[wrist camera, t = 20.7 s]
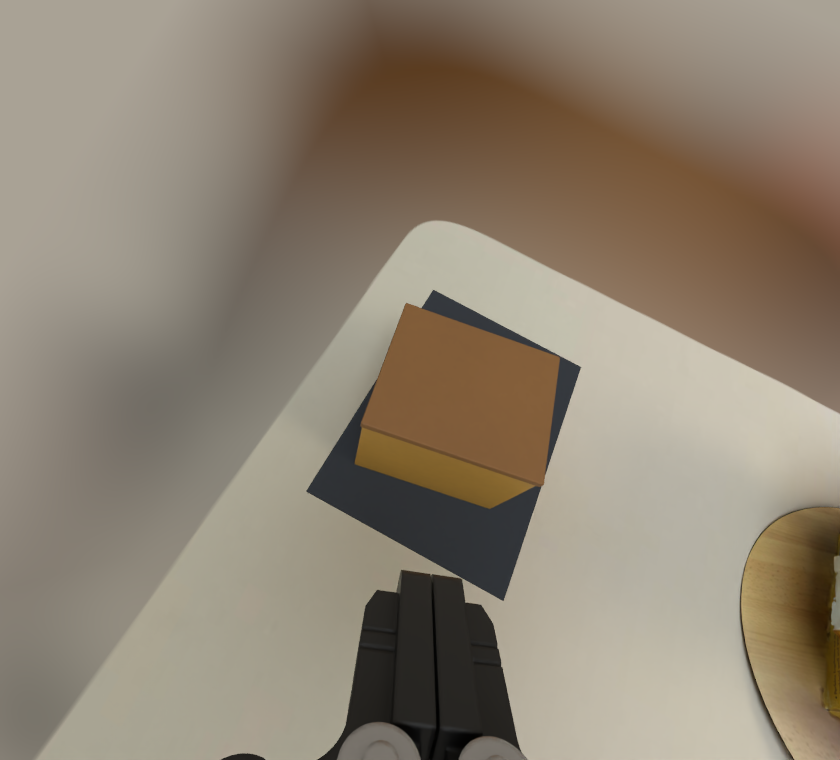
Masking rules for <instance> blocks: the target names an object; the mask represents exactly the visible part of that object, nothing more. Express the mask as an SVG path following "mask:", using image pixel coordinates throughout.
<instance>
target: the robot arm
mask: <svg viewBox="0 0 840 760" xmlns="http://www.w3.org/2000/svg"><path fill="white" fill-rule="evenodd" d="M221 760H265V759H264V758H262V757H260V756H257V755H254V754H236V755H231V756H229V757H226V758H223V759H221ZM318 760H527V758H526V757H525V756H524V755H523V754H522V752H521V750H520V747H519V744H518V741H517V736H516V732H515V727H514V722H513V717H512V712H511V707H510V703H509V698H508V693H507V688H506V683H505V679H504V674H503V669H502V667H501V659H500V654H499V650H498V649H497V640H496V635H495V630H494V625H493V623H492V621H491V620H490V618H489V617H488V615H487V613H486V612H485V610H484V609H483V607H482V606H481V605H478V604H471V603H465V597H464V590H463V583H462V580H461V579H460V578H454V577H447V576H440V575H433V574H432V575H430V574H425V573H419V572H412V571H405V570H401V572H400V577H399V582H398V587H397V592H396V593H394V592H387V591H380V590H377V591H376V592H375V593H374V595H373V596H372V598H371V599H370V600H369V602H368V603H367V605H366V606H365V612H364V618H363V624H362V630H361V636H360V642H359V647H358V653H357V659H356V665H355V672H354V678H353V684H352V690H351V696H350V703H349V709H348V715H347V721H346V726H345V728H344V731H343V733H342V735H341V737H340V738H339V740H338V741H337V743H336V744H335V745H334V747H333V748H332V749H331V750H329V751H328V752H327V753H326V754H325V755H324V756H322V757H321V758H319V759H318Z"/></svg>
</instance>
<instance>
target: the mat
mask: <svg viewBox="0 0 840 760" xmlns="http://www.w3.org/2000/svg"><path fill="white" fill-rule="evenodd" d="M422 309H425V310H428V311H430V312H433V313H436V314H439V315H442V316H445V317H447V318H450V319H453V320H456V321H459V322H462V323H464V324H467V325H470V326H473V327H476V328H479V329H482V330H484V331H487V332H490V333H493V334H496V335H499V336H501V337H504V338H507V339H510V340H513V341H516V342H518V343H521V344H524V345H527V346H530V347H533V348H535V349H538V350H541V351H544V352H547V353H550V354H552V355H555V356H558V357H560V362H559V370H558V378H557V385H556V393H555V401H554V409H553V416H552V424H551V432H550V440H549V448H548V455H547V463H546V471H547V468H548V465H549V462H550V459H551V456H552V453H553V450H554V447H555V444H556V441H557V438H558V435H559V432H560V429H561V426H562V423H563V420H564V417H565V414H566V411H567V408H568V405H569V402H570V398H571V395H572V392H573V389H574V386H575V383H576V380H577V377H578V374H579V371H580V368H581V367H580V366H578V365H576V364H574V363H572V362H570V361H568V360H566V359H564V358H562V357H561V356H559V355H557V354H555V353H553V352H551V351H549V350H547V349H545V348H543V347H541V346H540V345H538V344H536V343H534V342H532V341H530V340H528V339H526V338H524V337H522V336H520V335H519V334H517V333H515V332H513V331H511V330H509V329H507V328H505V327H503V326H501V325H500V324H498V323H496V322H494V321H492V320H490V319H488V318H486V317H484V316H482V315H480V314H479V313H477V312H475V311H473V310H471V309H469V308H467V307H465V306H463V305H461V304H459V303H458V302H456V301H454V300H452V299H450V298H448V297H446V296H444V295H442V294H440V293H438V292H437V291H435V290H433V291H432V293H431V294H430V296H429V298H428V299H427V301H426V302H425V304H424V306H423V307H422ZM376 381H377V380H376ZM375 384H376V382H375V383H374V385H373V386H372V388H371V390H370V391H369V393H368V394H367V396H366V398H365V399H364V401H363V402H362V404H361V405H360V407H359V409H358V410H357V412H356V413H355V415H354V417H353V418H352V420H351V421H350V423H349V425H348V426H347V428H346V429H345V431H344V432H343V434H342V436H341V437H340V439H339V440H338V442H337V444H336V445H335V447H334V448H333V450H332V451H331V453H330V455H329V456H328V458H327V459H326V461H325V463H324V464H323V466H322V467H321V469H320V470H319V472H318V474H317V475H316V477H315V478H314V480H313V482H312V483H311V485H310V486H309V488H308V490H307V492H308V493H310V494H312V495H314V496H316V497H317V498H319V499H321V500H323V501H325V502H326V503H328V504H330V505H332V506H334V507H335V508H337V509H339V510H341V511H343V512H344V513H346V514H348V515H350V516H352V517H353V518H355V519H357V520H359V521H361V522H362V523H364V524H366V525H368V526H370V527H371V528H373V529H375V530H377V531H379V532H380V533H382V534H384V535H386V536H388V537H389V538H391V539H393V540H395V541H397V542H398V543H400V544H402V545H404V546H406V547H407V548H409V549H411V550H413V551H415V552H416V553H418V554H420V555H422V556H424V557H425V558H427V559H429V560H431V561H433V562H434V563H436V564H438V565H440V566H442V567H443V568H445V569H447V570H449V571H451V572H452V573H454V574H456V575H458V576H460V577H461V578H463V579H465V580H467V581H469V582H470V583H472V584H474V585H476V586H478V587H479V588H481V589H483V590H485V591H487V592H488V593H490V594H492V595H494V596H496V597H497V598H499V599H501V600H503V601H504V598H505V595H506V592H507V589H508V586H509V583H510V580H511V577H512V574H513V571H514V567H515V564H516V561H517V558H518V555H519V552H520V549H521V546H522V543H523V540H524V537H525V534H526V531H527V528H528V525H529V522H530V519H531V516H532V513H533V510H534V507H535V504H536V501H537V498H538V495H539V492H540V489H541V486H540V487H538V486H534V487H533V488H531V489H529V490H527V491H525V492H523V493H521V494H519V495H517V496H515V497H513V498H511V499H509V500H507V501H505V502H503V503H501V504H499V505H497V506H495V507H493V508H491V509H488V508H485V507H482V506H479V505H476V504H473V503H470V502H467V501H464V500H461V499H458V498H455V497H452V496H449V495H446V494H443V493H440V492H437V491H434V490H431V489H428V488H425V487H422V486H419V485H416V484H413V483H410V482H407V481H404V480H401V479H398V478H395V477H392V476H389V475H386V474H383V473H380V472H377V471H373V470H370V469H367V468H364V467H361V466H358V465H355V458H356V453H357V449H358V444H359V439H360V435H361V430H362V427H360V425H361V421H362V419H363V416H364V413H365V411H366V408H367V405H368V403H369V400H370V397H371V395H372V392H373V389H374V387H375ZM546 471H545V474H546Z"/></svg>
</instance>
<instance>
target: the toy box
mask: <svg viewBox="0 0 840 760" xmlns="http://www.w3.org/2000/svg"><path fill="white" fill-rule="evenodd" d="M559 362H560V357H558V356H555V355H552V354H550V353H547V352H544V351H541V350H538V349H535V348H533V347H530V346H527V345H524V344H521V343H518V342H516V341H513V340H510V339H507V338H504V337H501V336H499V335H496V334H493V333H490V332H487V331H484V330H482V329H479V328H476V327H473V326H470V325H467V324H464V323H462V322H459V321H456V320H453V319H450V318H447V317H445V316H442V315H439V314H436V313H433V312H430V311H428V310H425V309H422V308H419V307H416V306H413V305H411V304H408V303H406V304H405V307H404V309H403V312H402V315H401V317H400V320H399V323H398V325H397V328H396V331H395V333H394V336H393V339H392V341H391V344H390V347H389V349H388V352H387V355H386V357H385V360H384V363H383V365H382V368H381V371H380V373H379V376H378V379H377V381H376V384H375V387H374V389H373V392H372V395H371V397H370V400H369V403H368V405H367V408H366V411H365V413H364V416H363V419H362V421H361V425H360V427H362V430H361V435H360V439H359V444H358V449H357V453H356V458H355V465H358V466H361V467H364V468H367V469H370V470H373V471H377V472H380V473H383V474H386V475H389V476H392V477H395V478H398V479H401V480H404V481H407V482H410V483H413V484H416V485H419V486H422V487H425V488H428V489H431V490H434V491H437V492H440V493H443V494H446V495H449V496H452V497H455V498H458V499H461V500H464V501H467V502H470V503H473V504H476V505H479V506H482V507H485V508H488V509H491V508H493V507H495V506H497V505H499V504H501V503H503V502H505V501H507V500H509V499H511V498H513V497H515V496H517V495H519V494H521V493H523V492H525V491H527V490H529V489H531V488H533V487H534V486H538V487H540V486H543V485H544V479H545V471H546V463H547V455H548V448H549V440H550V432H551V424H552V416H553V409H554V401H555V393H556V385H557V378H558V370H559Z"/></svg>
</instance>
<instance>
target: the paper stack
mask: <svg viewBox="0 0 840 760" xmlns="http://www.w3.org/2000/svg"><path fill="white" fill-rule="evenodd" d="M741 612H742V624H743V631H744V636H745V643H746V647H747V651H748V655H749V659H750V663H751V666H752V669H753V672H754V676H755V678H756V681H757V684H758V687H759V689H760V692H761V695H762V697H763V699H764V702H765V705H766V707H767V709H768V711H769V713H770V715H771V717H772V719H773V722H774V724H775V726H776V728H777V730H778V732H779V733H780V735H781V737H782V739H783V741H784V743H785V745H786V746H787V748H788V750H789V751H790V753H791V755H792V756H793V758H794V760H840V508H833V507H818V508H809V509H804V510H799V511H796V512H793V513H790V514H788V515H786V516H784V517H782V518H780V519H779V520H777V521H776V522H774V523H773V524H772V525H770V526H769V527H768V528H767V529H766V530H765V531H764V532H763V533H762V535H761V536H760V537H759V539H758V540H757V541H756V543H755V545H754V547H753V548H752V551H751V553H750V555H749V557H748V560H747V564H746V567H745V571H744V576H743V582H742V594H741Z"/></svg>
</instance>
